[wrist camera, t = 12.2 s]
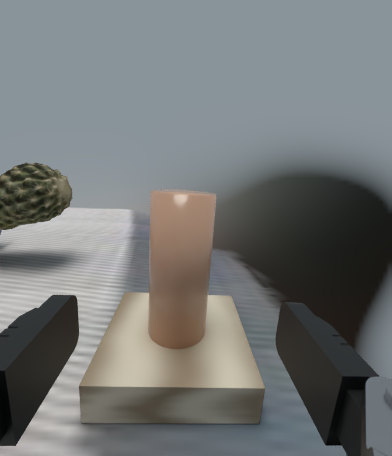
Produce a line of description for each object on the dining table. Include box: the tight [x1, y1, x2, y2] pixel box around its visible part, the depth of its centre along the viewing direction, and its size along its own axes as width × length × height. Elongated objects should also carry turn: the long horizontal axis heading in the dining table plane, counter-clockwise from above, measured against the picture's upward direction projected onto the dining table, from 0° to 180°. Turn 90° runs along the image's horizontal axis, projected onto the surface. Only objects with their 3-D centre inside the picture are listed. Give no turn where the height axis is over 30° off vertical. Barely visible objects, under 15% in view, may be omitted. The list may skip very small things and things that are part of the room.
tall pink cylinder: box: [148, 189, 216, 349], centre depth 20 cm, size 5×5×12 cm
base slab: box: [79, 292, 265, 424], centre depth 22 cm, size 12×12×3 cm
